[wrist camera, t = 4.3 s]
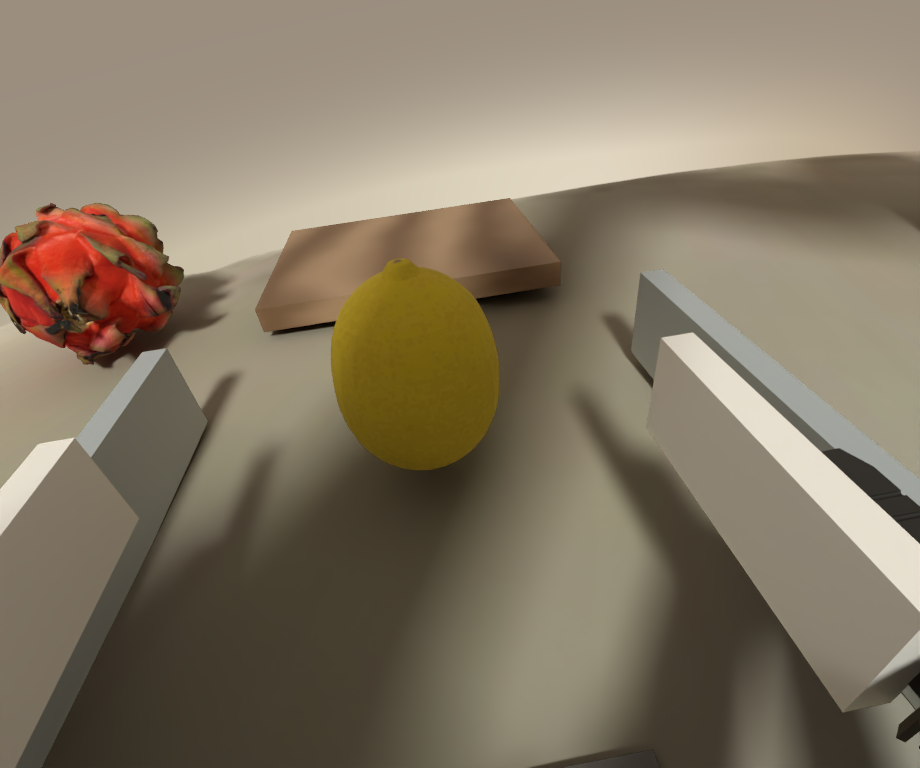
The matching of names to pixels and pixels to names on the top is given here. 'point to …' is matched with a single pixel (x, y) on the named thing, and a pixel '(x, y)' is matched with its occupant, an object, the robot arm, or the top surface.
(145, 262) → the dragon fruit
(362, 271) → the board
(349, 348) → the lemon
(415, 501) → the top surface
